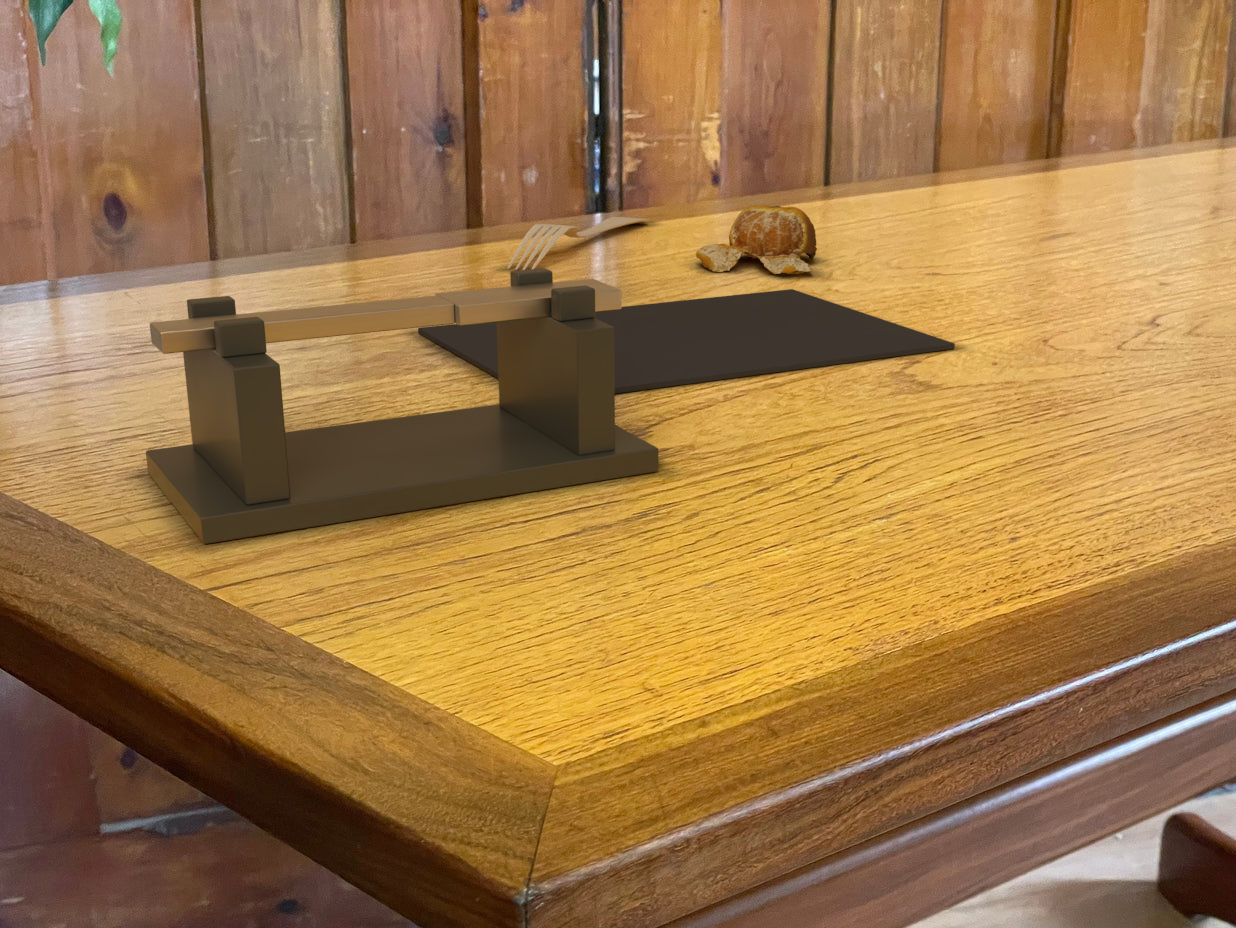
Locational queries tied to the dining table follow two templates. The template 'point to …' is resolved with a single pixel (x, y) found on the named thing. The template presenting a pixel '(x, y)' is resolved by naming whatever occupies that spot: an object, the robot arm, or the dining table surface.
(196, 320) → the bridge-like plank
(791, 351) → the placemat
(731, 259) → the fruit
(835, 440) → the dining table surface
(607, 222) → the fork
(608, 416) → the cutlery rack
